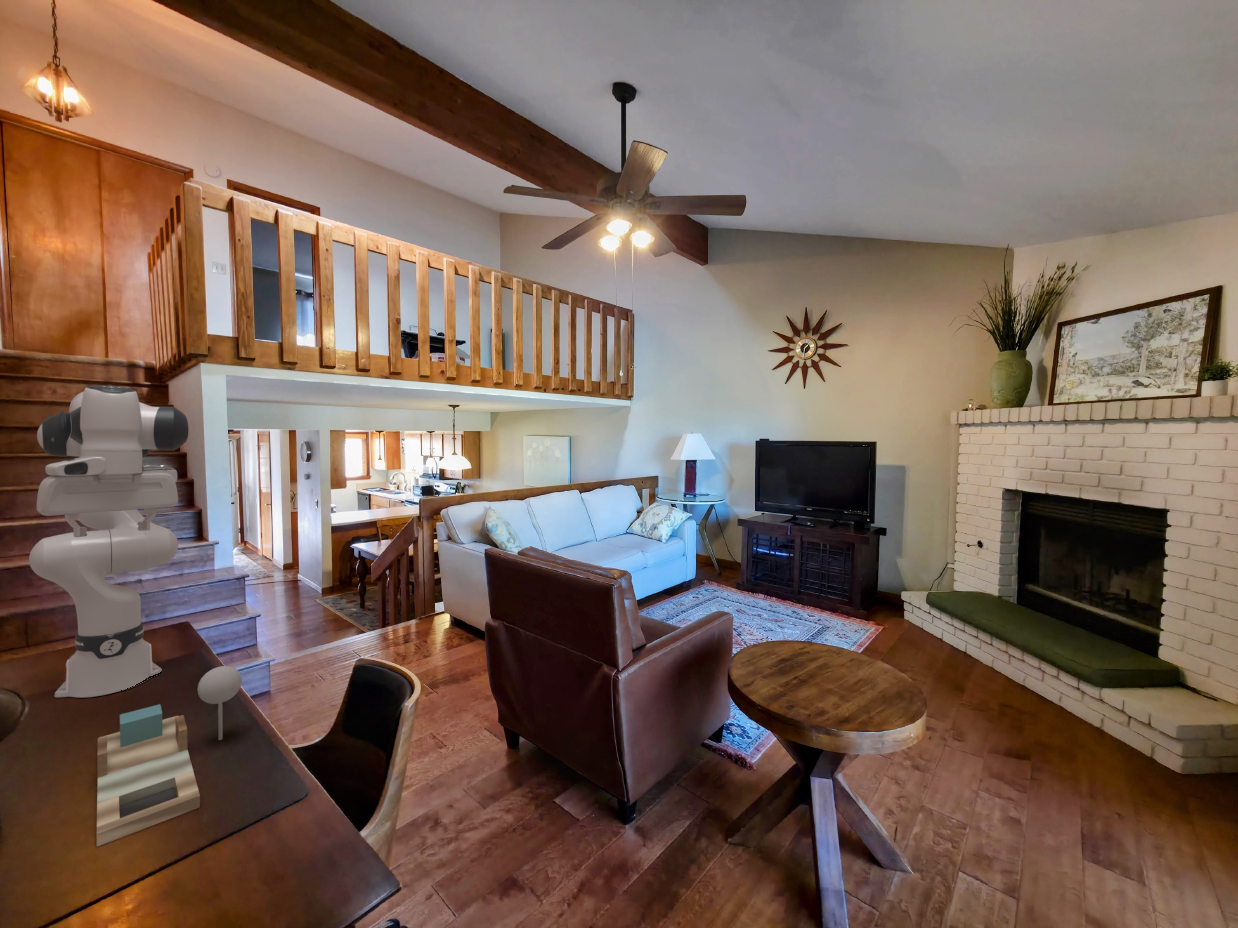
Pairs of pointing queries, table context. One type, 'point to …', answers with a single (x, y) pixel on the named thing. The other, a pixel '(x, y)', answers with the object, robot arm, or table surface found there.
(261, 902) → the table surface
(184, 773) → the deck
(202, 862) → the table surface
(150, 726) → the block
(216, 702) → the lollipop
